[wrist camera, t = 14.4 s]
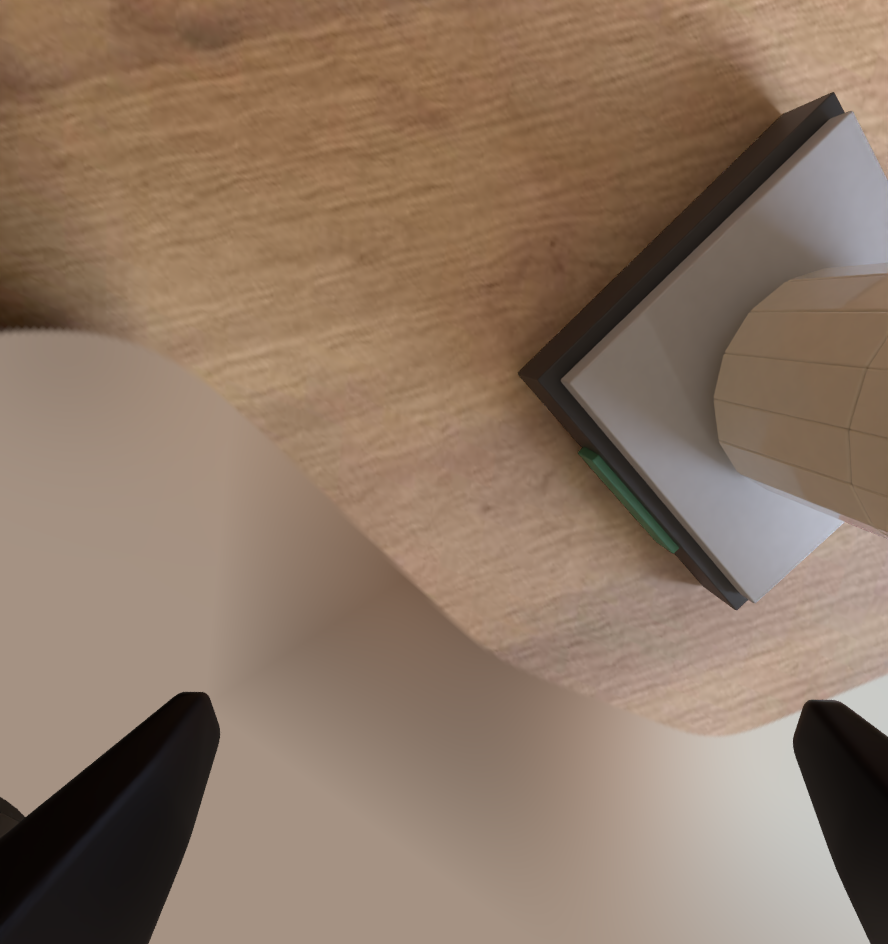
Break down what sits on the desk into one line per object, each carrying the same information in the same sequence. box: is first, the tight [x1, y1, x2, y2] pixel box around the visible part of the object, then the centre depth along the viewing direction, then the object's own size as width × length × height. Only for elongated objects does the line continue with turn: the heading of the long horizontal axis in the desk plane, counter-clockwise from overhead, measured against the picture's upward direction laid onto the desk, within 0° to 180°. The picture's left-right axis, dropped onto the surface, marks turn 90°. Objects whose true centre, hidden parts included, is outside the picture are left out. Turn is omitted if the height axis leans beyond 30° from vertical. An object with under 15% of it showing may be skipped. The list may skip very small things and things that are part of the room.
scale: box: [518, 92, 888, 610], centre depth 19 cm, size 12×12×3 cm
